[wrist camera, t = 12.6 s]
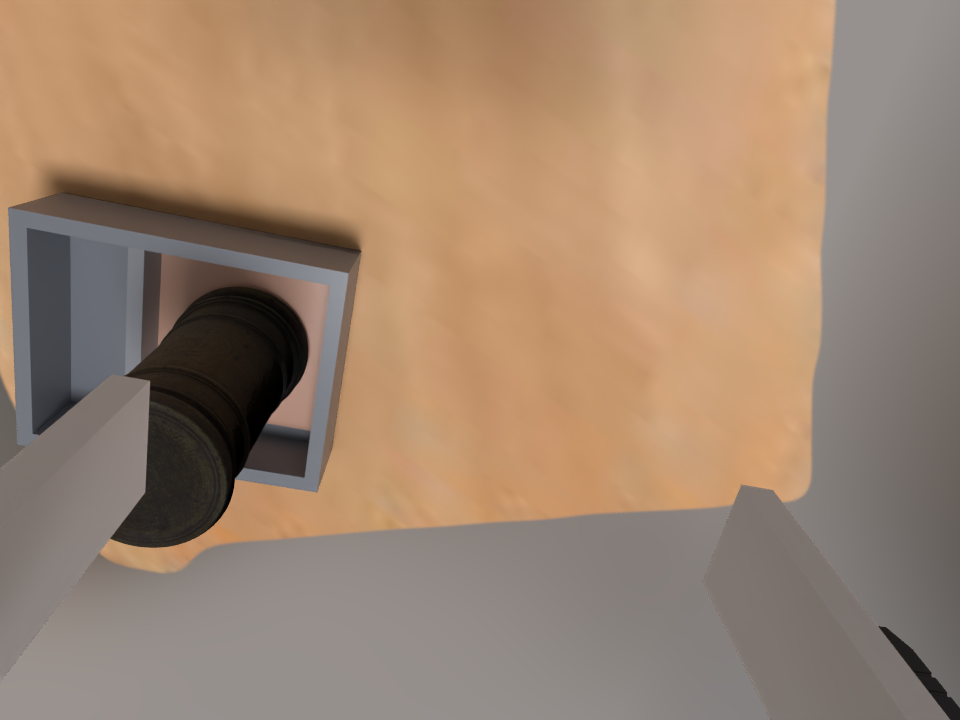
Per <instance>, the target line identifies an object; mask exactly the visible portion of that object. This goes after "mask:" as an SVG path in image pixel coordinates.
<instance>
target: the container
mask: <svg viewBox="0 0 960 720" xmlns="http://www.w3.org/2000/svg"><path fill="white" fill-rule="evenodd" d="M307 361H308V343H307V338H306V334H305V331H304V329H303V327H302V325H301V323H300V321H299V319H298V318H297V316H296V315H295V314H294V313H293V311H292V310H291V309H290V308H289V307H288V306H287V305H286V304H284V303H283V302H282V301H280V300H279V299H277V298H276V297H274V296H272V295H270V294H268V293H266V292H263V291H261V290H257V289H253V288H248V287H226V288H220V289H217V290H214V291H211V292H209V293H206V294H205V295H203V296H201V297H199V298H198V299H197V300H195V301H194V302H193V303H192V304H191V305H190V306H189V307H188V308H187V309H186V310H185V312H184V313H183V314H182V315H181V316H180V317H179V318H178V319H177V321H176V322H175V324H174V326H173V328H172V329H171V330H170V331H169V332H168V334H167V335H166V336H165V337H164V339H163V340H162V342H161V343H160V345H159V346H158V347H157V348H156V349H155V350H154V351H153V352H151V353H150V354H149V355H148V356H147V357H146V358H145V359H144V360H143V361H141V362H140V363H139V364H138V365H137V366H136V367H135V368H134V369H133V370H132V371H130V372H129V373H128V374H126V375H124V376H125V377H131V378H137V379H143V380H148V381H150V396H149V418H148V441H147V464H146V486H145V493H144V495H143V496H142V497H141V499H140V500H139V501H138V503H137V504H136V505H135V506H134V508H133V509H132V510H131V512H130V513H129V514H128V516H127V517H126V518H125V520H124V521H123V522H122V524H121V525H120V526H119V527H118V529H117V530H116V531H115V533H114V534H113V535H112V537H111V538H110V539H112V540H115V541H118V542H121V543H124V544H128V545H133V546H138V547H149V548H157V547H169V546H174V545H178V544H182V543H185V542H187V541H190V540H192V539H194V538H196V537H198V536H200V535H201V534H203V533H204V532H206V531H207V530H209V529H210V528H211V527H212V526H213V525H214V524H215V523H216V522H217V521H218V520H219V519H220V518H221V516H222V515H223V514H224V512H225V511H226V509H227V507H228V505H229V503H230V500H231V497H232V494H233V490H234V483H235V478H236V477H237V476H238V475H239V474H240V472H241V471H242V469H243V468H244V466H245V464H246V461H247V459H248V456H249V453H250V451H251V450H252V448H253V446H254V444H255V443H256V441H257V439H258V437H259V435H260V433H261V432H262V430H263V428H264V427H265V425H266V423H267V421H268V420H269V418H270V417H271V415H272V414H273V413H274V412H275V411H276V409H277V408H278V407H279V405H280V404H281V402H282V401H283V400H285V399H286V398H287V397H288V396H289V395H290V394H291V392H292V391H293V389H294V388H295V387H296V385H297V384H298V383H299V382H300V380H301V378H302V376H303V374H304V372H305V369H306V366H307Z"/></svg>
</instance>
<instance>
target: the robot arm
mask: <svg viewBox="0 0 960 720" xmlns="http://www.w3.org/2000/svg"><path fill="white" fill-rule="evenodd" d="M149 396H150V381H148V380H143V379H137V378H131V377H125V376H120V375H114V374H112V375H111V376H109V377H108V378H107V379H106V380H105V381H103V382H102V383H101V384H100V385H99V386H98V387H96V388H95V389H94V390H93V391H92V392H90V393H89V394H88V395H87V396H86V397H85V398H83V399H82V400H81V401H80V402H79V403H77V404H76V405H75V406H74V407H73V408H71V409H70V410H69V411H68V412H67V413H66V414H64V415H63V416H62V417H61V418H60V419H58V420H57V421H56V422H55V423H54V424H53V425H51V426H50V427H49V428H48V429H47V430H45V431H44V432H43V433H42V434H41V435H39V436H38V437H37V438H36V439H35V440H34V441H32V442H31V443H30V444H29V445H28V446H26V447H25V448H24V449H23V450H22V451H21V452H19V453H18V454H17V455H16V456H15V457H13V458H12V459H11V460H10V461H9V462H8V463H6V464H5V465H4V466H3V467H2V468H1V469H0V682H1V681H2V680H3V678H4V677H5V676H6V674H7V673H8V672H9V670H10V669H11V668H12V666H13V665H14V664H15V662H16V661H17V660H18V659H19V657H20V656H21V655H22V653H23V652H24V651H25V649H26V648H27V647H28V645H29V644H30V643H31V642H32V640H33V639H34V638H35V636H36V635H37V634H38V632H39V631H40V630H41V628H42V627H43V625H44V624H45V623H46V622H47V621H48V619H49V618H50V616H51V615H52V614H53V613H54V611H55V610H56V609H57V607H58V606H59V605H60V603H61V602H62V601H63V600H64V598H65V597H66V596H67V594H68V593H69V592H70V590H71V589H72V588H73V586H74V585H75V584H76V582H77V581H78V580H79V579H80V577H81V576H82V575H83V573H84V572H85V571H86V569H87V568H88V567H89V565H90V564H91V563H92V561H93V560H94V559H95V558H96V556H97V555H98V554H99V552H100V551H101V550H102V548H103V547H104V546H105V544H106V543H107V542H108V541H109V539H110V538H111V537H112V535H113V534H114V533H115V531H116V530H117V529H118V527H119V526H120V525H121V524H122V522H123V521H124V520H125V518H126V517H127V516H128V514H129V513H130V512H131V510H132V509H133V508H134V506H135V505H136V504H137V503H138V501H139V500H140V499H141V497H142V496H143V495H144V493H145V486H146V464H147V441H148V418H149ZM703 583H704V585H705V587H706V589H707V591H708V594H709V595H710V598H711V600H712V602H713V603H714V606H715V608H716V610H717V612H718V614H719V616H720V618H721V620H722V622H723V624H724V626H725V628H726V630H727V632H728V634H729V636H730V638H731V640H732V642H733V644H734V647H735V649H736V651H737V653H738V655H739V657H740V658H741V661H742V662H743V665H744V667H745V669H746V671H747V673H748V675H749V677H750V679H751V681H752V683H753V685H754V687H755V689H756V691H757V693H758V695H759V697H760V699H761V702H762V704H763V706H764V707H765V710H766V712H767V714H768V716H769V718H770V720H960V708H959V707H958V706H957V704H956V703H955V702H954V700H953V699H952V698H950V697H947V692H946V691H945V689H944V688H943V687H942V685H941V684H940V683H939V682H938V680H937V679H936V678H933V677H932V676H931V672H930V671H929V669H928V668H927V667H926V666H925V664H924V663H923V662H922V661H921V659H920V658H919V657H918V656H917V654H916V653H915V652H914V651H913V649H911V648H910V647H909V646H908V645H907V644H905V643H904V642H903V641H902V640H901V639H899V638H898V637H897V636H896V635H895V634H893V633H892V632H891V631H890V630H889V629H887V628H886V627H880V626H877V624H876V623H875V622H874V620H873V619H872V618H871V617H870V615H869V614H868V613H867V611H866V610H865V609H864V607H863V606H862V605H861V604H860V602H859V601H858V600H857V599H856V597H855V596H854V595H853V593H852V592H851V591H850V590H849V588H848V587H847V585H846V584H845V583H844V582H843V580H842V579H841V578H840V576H839V575H838V574H837V573H836V571H835V570H834V569H833V568H832V566H831V565H830V564H829V562H828V561H827V560H826V558H825V557H824V556H823V554H822V553H821V552H820V551H819V549H818V548H817V547H816V546H815V544H814V543H813V542H812V540H811V539H810V538H809V536H808V535H807V534H806V533H805V531H804V530H803V529H802V527H801V526H800V525H799V524H798V522H797V521H796V520H795V518H794V517H793V516H792V514H791V513H790V512H789V510H788V509H787V508H786V507H785V505H784V504H783V503H782V501H781V500H780V499H779V498H778V496H777V495H776V494H775V492H774V491H773V490H769V489H763V488H758V487H752V486H746V485H741V487H740V490H739V492H738V494H737V497H736V499H735V502H734V504H733V507H732V510H731V512H730V514H729V517H728V519H727V522H726V524H725V527H724V529H723V531H722V534H721V536H720V539H719V542H718V544H717V546H716V549H715V551H714V554H713V556H712V559H711V561H710V564H709V566H708V568H707V571H706V573H705V576H704V578H703Z"/></svg>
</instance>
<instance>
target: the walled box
mask: <svg viewBox="0 0 960 720" xmlns="http://www.w3.org/2000/svg"><path fill="white" fill-rule="evenodd" d="M8 214H9V240H10V267H11V293H12V320H13V346H14V372H15V399H16V425H17V444H18V445H24V446H28V445H29V444H30V443H31V442H32V441H34V440H35V439H36V438H37V437H38V436H39V435H41V434H42V433H43V432H44V431H45V430H47V429H48V428H49V427H50V426H51V425H53V424H54V423H55V422H56V421H57V420H58V419H60V418H61V417H62V416H63V415H64V414H66V413H67V412H68V411H69V410H70V409H71V408H73V407H74V406H75V405H76V404H77V403H79V402H80V401H81V400H82V399H83V398H85V397H86V396H87V395H88V394H89V393H90V392H92V391H93V390H94V389H95V388H96V387H98V386H99V385H100V384H101V383H102V382H103V381H105V380H106V379H107V378H108V377H109V376H111V375H112V374H114V375H120V376H124V375H126V374H128V373H129V372H130V371H132V370H133V369H134V368H135V367H136V366H137V365H138V364H139V363H140V362H141V361H143V360H144V359H145V358H146V357H147V356H148V355H149V354H150V353H151V352H153V351H154V350H155V349H156V348H157V347H158V346H159V345H160V343H161V342H162V340H163V339H164V337H165V336H166V335H167V334H168V332H169V331H170V330H171V329H172V328H173V326H174V324H175V322H176V321H177V319H178V318H179V317H180V316H181V315H182V314H183V313H184V312H185V310H186V309H187V308H188V307H189V306H190V305H191V304H192V303H193V302H194V301H195V300H197V299H198V298H199V297H201V296H203V295H205V294H206V293H209V292H211V291H214V290H217V289H220V288H226V287H248V288H253V289H257V290H261V291H263V292H266V293H268V294H270V295H272V296H274V297H276V298H277V299H279V300H280V301H282V302H283V303H284V304H286V305H287V306H288V307H289V308H290V309H291V310H292V311H293V313H294V314H295V315H296V316H297V318H298V319H299V321H300V323H301V325H302V327H303V329H304V331H305V334H306V338H307V343H308V361H307V366H306V369H305V372H304V374H303V376H302V378H301V380H300V382H299V383H298V384H297V385H296V387H295V388H294V389H293V391H292V392H291V394H290V395H289V396H288V397H287V398H286V399H285V400H283V401H282V402H281V404H280V405H279V407H278V408H277V409H276V411H275V412H274V413H273V414H272V415H271V417H270V418H269V420H268V421H267V423H266V425H265V427H264V428H263V430H262V432H261V433H260V435H259V437H258V439H257V441H256V443H255V444H254V446H253V448H252V450H251V451H250V453H249V456H248V459H247V461H246V464H245V466H244V468H243V469H242V471H241V472H240V474H239V475H238V476H237V477H236V478H235V479H236V480H243V481H249V482H255V483H261V484H268V485H274V486H280V487H286V488H293V489H299V490H305V491H312V492H317V491H318V489H319V486H320V483H321V480H322V477H323V474H324V471H325V468H326V465H327V462H328V459H329V456H330V454H331V451H332V444H333V438H334V431H335V424H336V418H337V411H338V404H339V397H340V391H341V384H342V377H343V371H344V364H345V357H346V350H347V344H348V337H349V330H350V324H351V317H352V310H353V303H354V297H355V290H356V283H357V277H358V270H359V263H360V256H361V251H357V250H352V249H347V248H342V247H336V246H331V245H326V244H321V243H316V242H311V241H306V240H301V239H296V238H291V237H286V236H281V235H275V234H270V233H265V232H260V231H255V230H250V229H245V228H240V227H235V226H230V225H225V224H219V223H214V222H209V221H204V220H199V219H194V218H189V217H184V216H179V215H174V214H169V213H164V212H158V211H153V210H148V209H143V208H138V207H133V206H128V205H123V204H118V203H113V202H108V201H103V200H97V199H92V198H87V197H82V196H77V195H72V194H67V193H59V194H55V195H52V196H48V197H45V198H41V199H38V200H34V201H30V202H27V203H23V204H20V205H16V206H12V207H9V208H8Z"/></svg>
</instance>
